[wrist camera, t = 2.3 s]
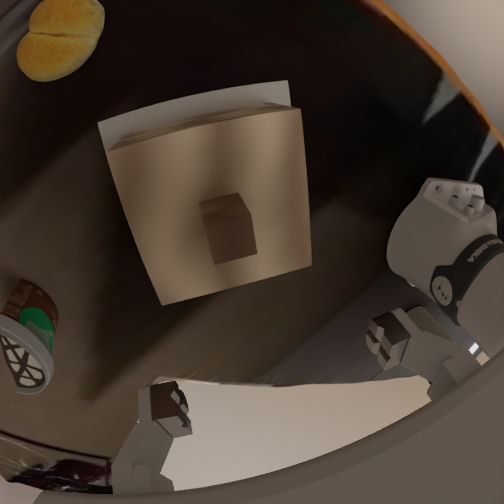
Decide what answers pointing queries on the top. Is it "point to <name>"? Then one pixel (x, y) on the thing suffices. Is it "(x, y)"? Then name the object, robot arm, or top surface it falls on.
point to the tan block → (216, 198)
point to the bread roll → (60, 38)
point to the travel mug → (426, 323)
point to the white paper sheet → (191, 109)
